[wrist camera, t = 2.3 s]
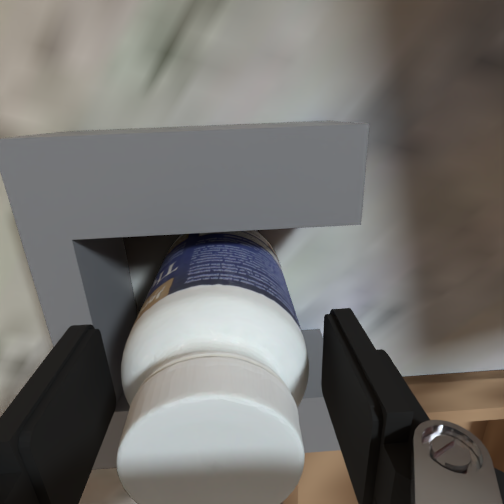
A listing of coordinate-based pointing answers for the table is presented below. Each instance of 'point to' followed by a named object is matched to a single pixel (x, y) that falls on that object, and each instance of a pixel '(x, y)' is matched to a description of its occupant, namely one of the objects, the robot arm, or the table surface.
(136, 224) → the dock
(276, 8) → the table surface
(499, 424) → the tray
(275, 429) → the pill bottle
